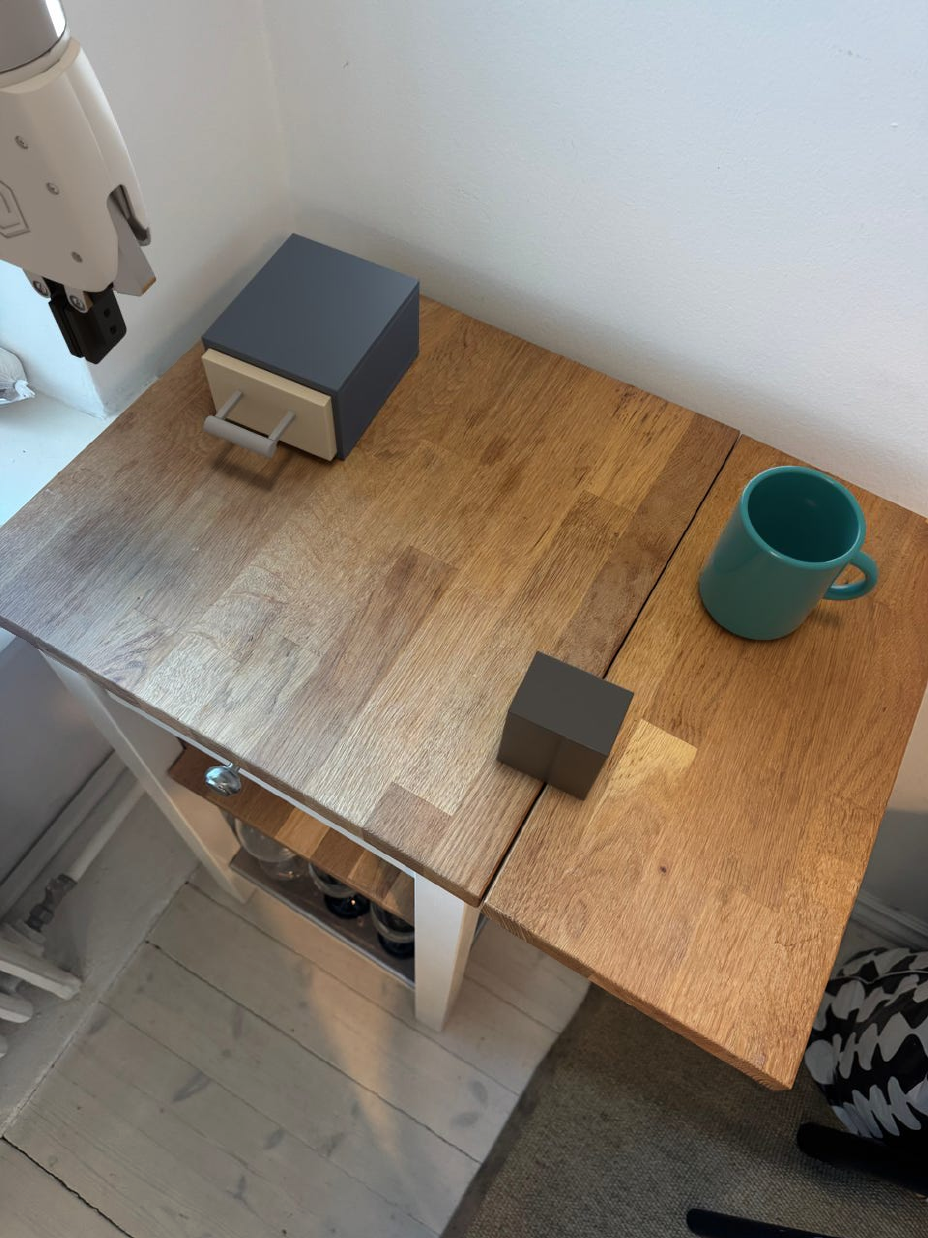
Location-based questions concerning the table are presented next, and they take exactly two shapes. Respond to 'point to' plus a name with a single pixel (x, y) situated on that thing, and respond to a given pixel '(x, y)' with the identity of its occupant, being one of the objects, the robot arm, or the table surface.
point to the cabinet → (326, 328)
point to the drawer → (266, 408)
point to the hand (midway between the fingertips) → (100, 344)
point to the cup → (785, 553)
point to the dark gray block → (562, 724)
